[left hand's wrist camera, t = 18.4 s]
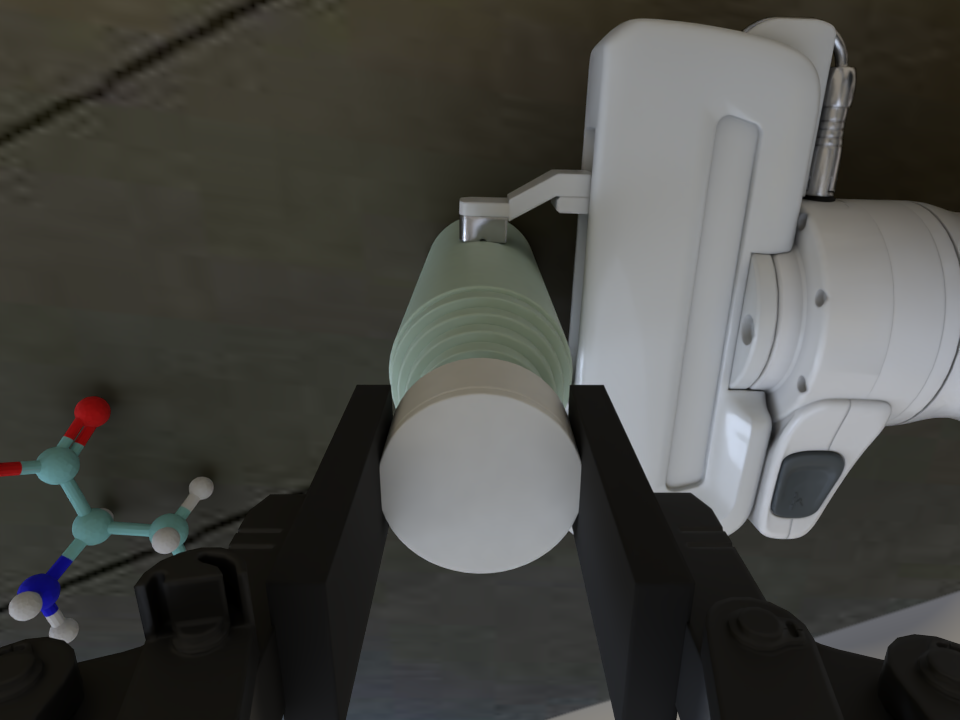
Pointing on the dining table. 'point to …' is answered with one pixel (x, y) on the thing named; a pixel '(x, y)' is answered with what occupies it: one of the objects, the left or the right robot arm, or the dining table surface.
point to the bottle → (480, 313)
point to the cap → (480, 467)
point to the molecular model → (88, 518)
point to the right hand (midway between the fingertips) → (458, 304)
